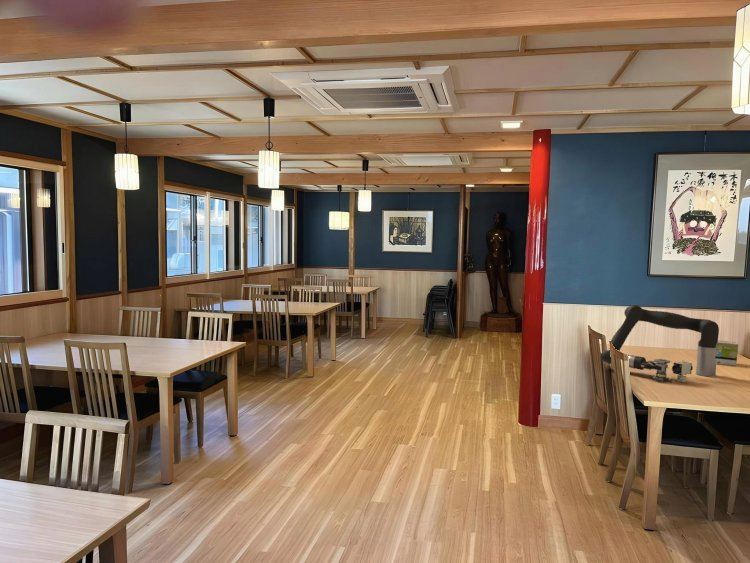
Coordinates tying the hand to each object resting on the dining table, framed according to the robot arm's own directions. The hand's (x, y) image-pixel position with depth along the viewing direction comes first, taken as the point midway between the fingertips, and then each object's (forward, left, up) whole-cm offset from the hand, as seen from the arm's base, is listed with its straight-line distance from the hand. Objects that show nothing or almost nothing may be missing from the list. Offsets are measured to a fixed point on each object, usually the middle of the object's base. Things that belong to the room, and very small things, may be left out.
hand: (664, 367), depth 309 cm
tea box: (-67, -50, -8) cm, 84 cm away
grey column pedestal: (+1, -1, -7) cm, 7 cm away
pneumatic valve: (-9, +1, -8) cm, 12 cm away
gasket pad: (+1, -1, -7) cm, 8 cm away
